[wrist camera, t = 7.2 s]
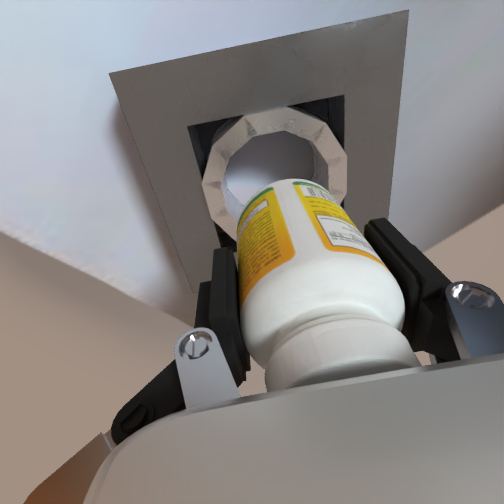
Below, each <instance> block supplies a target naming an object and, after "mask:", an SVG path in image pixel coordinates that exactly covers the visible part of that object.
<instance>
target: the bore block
mask: <svg viewBox="0 0 504 504" xmlns="http://www.w3.org/2000/svg"><path fill="white" fill-rule="evenodd" d="M408 16H409V10H404V11H400V12H395V13H390V14H386V15H381V16H376V17H371V18H367V19H362V20H357V21H353V22H348V23H343V24H339V25H334V26H329V27H324V28H320V29H315V30H310V31H306V32H301V33H296V34H291V35H287V36H282V37H277V38H273V39H268V40H263V41H258V42H254V43H249V44H244V45H240V46H235V47H230V48H225V49H221V50H216V51H211V52H207V53H202V54H197V55H193V56H188V57H183V58H178V59H174V60H169V61H164V62H160V63H155V64H150V65H145V66H141V67H136V68H131V69H127V70H122V71H117V72H112V73H109V76H110V79H111V81H112V84H113V86H114V89H115V92H116V94H117V97H118V99H119V102H120V105H121V107H122V110H123V112H124V115H125V118H126V120H127V123H128V125H129V128H130V131H131V133H132V136H133V138H134V141H135V144H136V146H137V149H138V151H139V154H140V157H141V159H142V162H143V164H144V167H145V169H146V172H147V175H148V177H149V180H150V182H151V185H152V188H153V190H154V193H155V195H156V198H157V201H158V203H159V206H160V208H161V211H162V214H163V216H164V219H165V221H166V224H167V227H168V229H169V232H170V234H171V237H172V240H173V242H174V245H175V247H176V250H177V252H178V255H179V258H180V260H181V263H182V265H183V268H184V271H185V273H186V276H187V278H188V281H189V284H190V286H191V289H192V291H193V293H198V292H199V286H200V283H201V282H206V281H211V279H212V265H213V251H214V249H217V248H223V247H227V249H228V250H230V249H232V250H233V253H234V257H235V261H236V265H237V269H238V256H237V223H238V219H239V216H240V213H241V211H242V209H243V208H244V206H243V205H242V204H241V203H240V202H239V201H238V200H237V199H236V198H235V197H234V195H233V194H232V193H231V192H230V191H229V190H228V189H227V185H226V180H225V176H224V174H225V171H226V168H227V165H228V162H229V159H230V157H231V156H232V155H233V154H234V153H235V152H237V151H238V150H239V149H240V148H241V147H242V146H243V145H244V144H246V143H247V142H248V141H249V140H250V139H251V138H252V137H254V136H259V135H264V134H269V133H274V132H279V131H287V132H289V133H292V134H295V135H297V136H300V137H302V138H305V139H307V140H308V142H309V143H310V145H311V146H312V148H313V154H314V175H313V177H312V179H311V182H314V183H316V184H318V185H320V186H322V187H323V188H325V189H326V190H327V191H328V192H329V193H330V194H331V195H332V196H333V197H334V198H335V199H336V201H337V202H338V203H339V204H340V206H341V207H342V208H343V210H344V211H345V212H346V214H347V215H348V217H349V218H350V219H351V221H352V222H353V223H354V225H355V226H356V227H357V229H358V230H359V231H360V233H361V234H362V235H363V237H364V226H365V224H368V222H369V220H372V219H378V218H386V219H387V220H388V216H389V206H390V196H391V186H392V176H393V166H394V156H395V146H396V136H397V126H398V116H399V106H400V96H401V86H402V76H403V66H404V56H405V46H406V36H407V26H408ZM324 98H328V124H329V127H328V125H327V124H326V123H325V122H324V121H322V120H320V119H319V118H317V117H316V116H314V115H313V114H311V113H310V112H307V111H305V110H302V109H300V108H298V107H295V106H293V105H294V104H299V103H304V102H309V101H314V100H319V99H324ZM225 118H229V119H228V120H227V121H226V122H225V123H224V124H223V125H222V126H221V127H220V128H219V129H218V130H217V131H215V134H214V137H213V141H212V145H211V148H210V152H209V155H208V159H207V163H206V164H205V160H204V157H203V153H202V149H201V145H200V142H199V138H198V134H197V130H196V126H195V124H200V123H205V122H210V121H215V120H220V119H225ZM223 230H224V231H225V232H223Z"/></svg>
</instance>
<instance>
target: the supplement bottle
mask: <svg viewBox="0 0 504 504" xmlns="http://www.w3.org/2000/svg"><path fill="white" fill-rule="evenodd" d="M237 256H238V281H239V313H240V329H241V335H242V339H243V342H244V344H245V347H246V349H247V351H248V352H249V354H250V355H251V357H252V358H253V359H254V360H255V361H256V362H257V363H258V364H259V365H260V366H261V367H262V368H263V369H265V384H266V388H267V392H273V391H279V390H284V389H290V388H296V387H302V386H307V385H313V384H319V383H325V382H331V381H337V380H342V379H348V378H354V377H360V376H366V375H372V374H378V373H384V372H390V371H396V370H402V369H408V368H414V367H420V366H422V365H421V364H420V362H419V360H418V359H417V357H416V355H415V354H414V352H413V350H412V349H411V346H410V344H409V342H408V340H407V339H406V338H405V336H404V335H403V334H402V333H401V330H402V327H403V323H404V318H405V303H404V298H403V294H402V292H401V289H400V287H399V285H398V283H397V281H396V279H395V278H394V277H393V275H392V274H391V272H390V271H389V270H388V268H387V267H386V266H385V264H384V263H383V262H382V260H381V259H380V258H379V256H378V255H377V254H376V252H375V251H374V250H373V248H372V247H371V245H370V244H369V243H368V242H367V240H366V239H365V238H364V237H363V235H362V234H361V233H360V231H359V230H358V229H357V227H356V226H355V225H354V223H353V222H352V221H351V219H350V218H349V217H348V215H347V214H346V212H345V211H344V210H343V208H342V207H341V206H340V204H339V203H338V202H337V201H336V199H335V198H334V197H333V196H332V195H331V194H330V193H329V192H328V191H327V190H326V189H325V188H323V187H322V186H320V185H318V184H316V183H314V182H311V181H308V180H304V179H285V180H280V181H276V182H273V183H271V184H269V185H267V186H265V187H263V188H261V189H260V190H259V191H258V192H256V193H255V194H254V195H253V196H252V197H251V198H250V200H249V201H248V202H247V203H246V205H245V206H244V208H243V209H242V211H241V213H240V216H239V219H238V223H237Z"/></svg>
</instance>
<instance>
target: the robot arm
mask: <svg viewBox="0 0 504 504" xmlns="http://www.w3.org/2000/svg"><path fill="white" fill-rule="evenodd" d="M364 238H365V239H366V240H367V242H368V243H369V244H370V245H371V247H372V248H373V250H374V251H375V252H376V254H377V255H378V256H379V258H380V259H381V260H382V262H383V263H384V264H385V266H386V267H387V268H388V270H389V271H390V272H391V274H392V275H393V277H394V278H395V279H396V281H397V283H398V285H399V287H400V289H401V292H402V294H403V298H404V303H405V318H404V323H403V327H402V330H401V333H402V334H403V335H404V336H405V338H406V339H407V340H408V342H409V344H410V346H411V349H412V350H413V352H418V351H425V352H427V353H429V357H430V361H431V364H432V365H426V366H420V367H414V368H408V369H402V370H396V371H390V372H384V373H378V374H372V375H366V376H360V377H354V378H348V379H342V380H337V381H331V382H325V383H319V384H313V385H307V386H302V387H296V388H290V389H284V390H279V391H273V392H267V393H262V394H256V395H250V396H245V397H241V396H240V393H239V391H238V389H237V388H238V387H239V386H240V385H241V383H242V382H243V381H246V371H250V370H251V366H250V354H249V352H248V351H247V349H246V347H245V344H244V342H243V339H242V335H241V329H240V313H239V281H238V269H237V265H236V261H235V257H234V253H233V250H232V249H230V250H228V249H227V247H223V248H217V249H214V251H213V265H212V279H211V281H206V282H201V283H200V286H199V294H198V302H197V310H196V319H195V327H194V329H192V330H190V331H188V332H186V333H184V334H183V335H182V336H181V337H180V338H179V339H178V341H177V342H176V345H175V347H174V355H175V360H174V361H172V362H171V363H170V364H169V365H168V366H167V367H166V368H165V369H164V370H163V371H162V372H160V374H158V375H157V376H156V377H155V378H154V379H153V380H152V381H151V382H150V383H148V384H147V385H146V386H145V387H144V388H143V389H142V390H141V391H140V392H139V393H137V394H136V395H135V396H134V397H133V398H132V399H131V400H130V401H129V402H128V403H126V404H125V405H124V406H123V407H122V409H121V410H120V411H119V412H118V414H117V415H116V417H115V419H114V420H113V424H112V427H111V429H110V430H109V431H108V432H107V433H105V434H104V435H103V434H102V433H100V434H98V435H97V436H96V437H95V438H94V439H93V440H91V441H90V442H89V443H88V444H87V445H86V446H84V447H83V448H82V449H81V450H80V451H78V452H77V453H76V454H75V455H74V456H73V457H71V458H70V459H69V460H68V461H67V462H66V463H64V464H63V465H62V466H61V467H60V468H59V469H58V470H56V471H55V472H54V473H53V474H51V475H50V476H49V477H48V478H47V479H46V480H44V481H43V482H42V483H41V484H40V485H38V486H37V487H36V488H35V490H34V491H33V492H32V493H31V494H30V495H29V496H28V497H27V499H26V500H25V502H24V504H504V304H503V302H502V301H501V299H500V297H499V296H498V295H497V294H496V293H495V292H494V291H493V290H491V289H490V288H488V287H486V286H484V285H482V284H478V283H474V282H468V281H462V282H455V283H452V282H451V281H450V280H449V279H448V278H447V277H446V276H445V275H444V274H443V273H442V272H441V271H440V270H439V269H438V268H437V267H436V266H434V264H433V263H432V262H431V261H430V260H429V259H428V258H427V257H426V256H425V255H424V254H423V253H422V252H421V251H420V250H418V249H417V248H416V247H415V246H414V245H412V244H411V243H410V242H409V241H408V240H407V239H406V238H405V237H404V236H403V235H402V234H401V233H400V232H399V231H398V230H397V229H396V228H395V227H394V226H393V225H392V224H391V223H390V222H389V221H388V220H387V219H386V218H378V219H372V220H369V222H368V224H365V226H364Z"/></svg>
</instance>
